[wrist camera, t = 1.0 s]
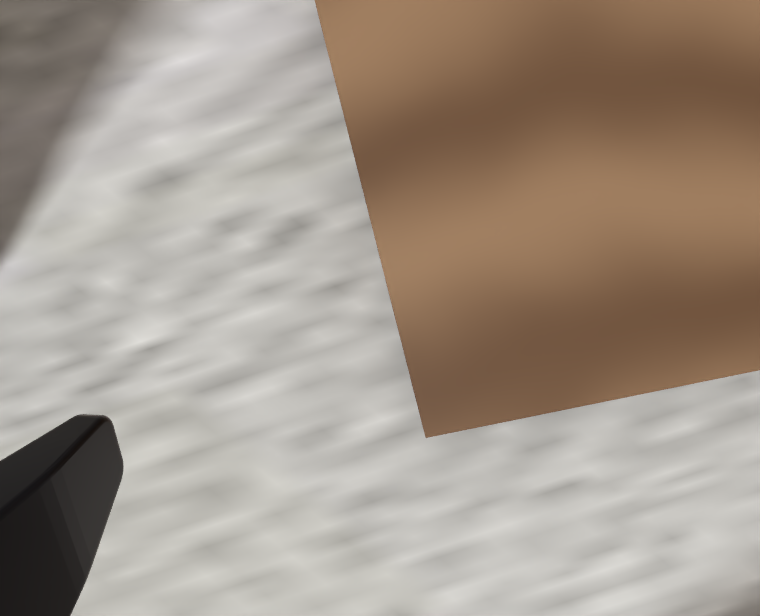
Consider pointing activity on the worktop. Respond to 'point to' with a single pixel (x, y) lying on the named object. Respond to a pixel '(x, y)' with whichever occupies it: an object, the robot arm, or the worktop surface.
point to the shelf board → (557, 193)
